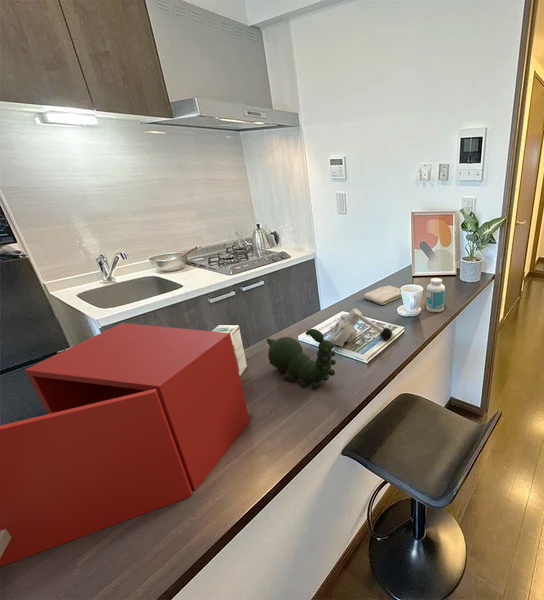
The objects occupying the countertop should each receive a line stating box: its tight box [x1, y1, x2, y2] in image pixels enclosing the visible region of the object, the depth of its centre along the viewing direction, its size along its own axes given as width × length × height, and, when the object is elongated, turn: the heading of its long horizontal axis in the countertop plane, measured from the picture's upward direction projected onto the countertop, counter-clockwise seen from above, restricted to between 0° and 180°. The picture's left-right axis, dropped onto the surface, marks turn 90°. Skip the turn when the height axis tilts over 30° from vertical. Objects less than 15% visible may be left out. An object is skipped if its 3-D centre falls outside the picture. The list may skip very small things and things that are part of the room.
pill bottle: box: [426, 277, 446, 314], centre depth 136 cm, size 8×7×14 cm
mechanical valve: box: [329, 307, 393, 348], centre depth 113 cm, size 10×18×15 cm
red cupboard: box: [24, 322, 251, 491], centre depth 67 cm, size 18×26×24 cm
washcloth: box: [363, 284, 402, 306], centre depth 150 cm, size 12×18×3 cm, turn 140°
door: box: [0, 389, 193, 568], centre depth 48 cm, size 7×26×24 cm, turn 117°
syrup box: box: [212, 324, 248, 376], centre depth 94 cm, size 6×6×14 cm
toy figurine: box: [265, 328, 337, 389], centre depth 91 cm, size 9×19×25 cm
